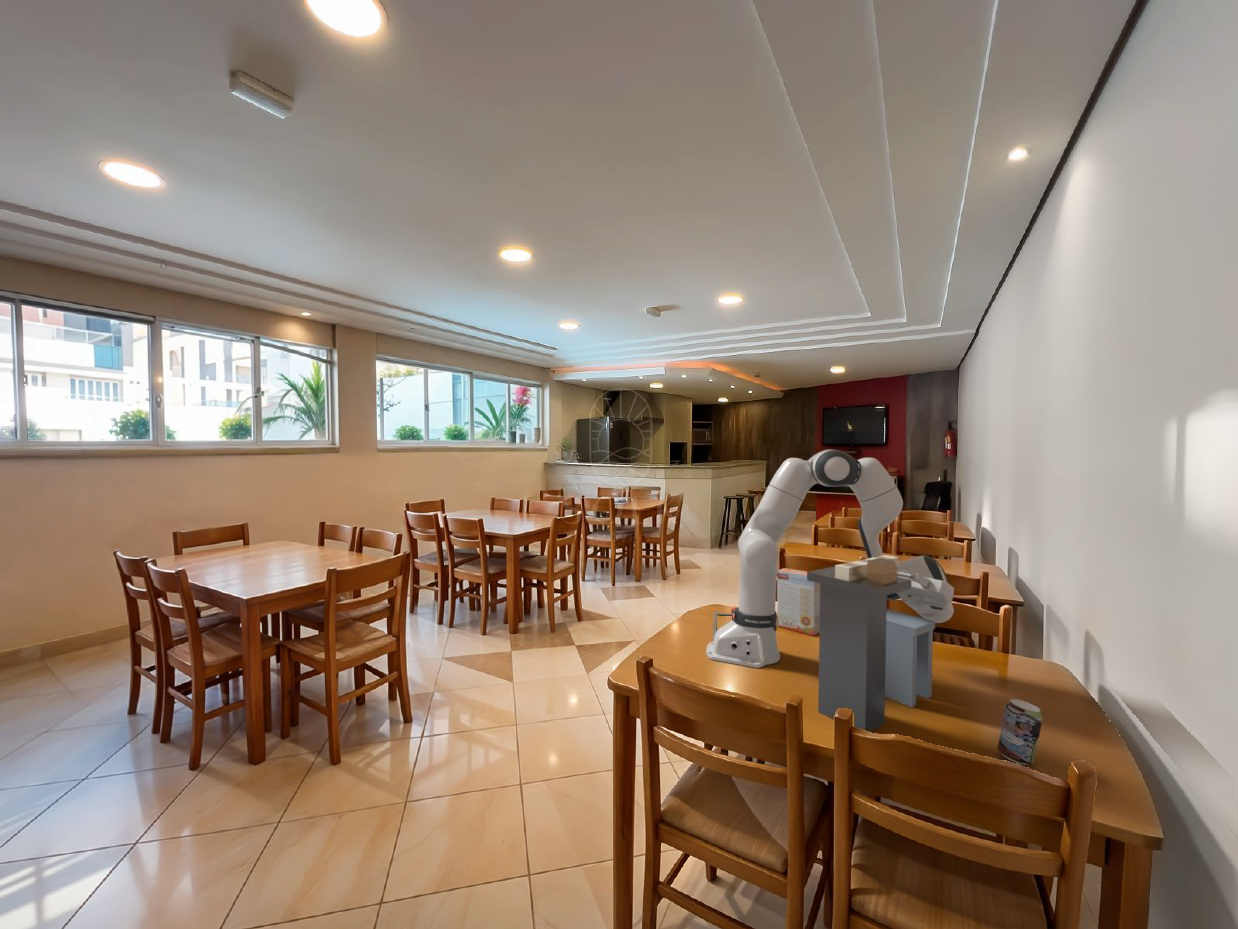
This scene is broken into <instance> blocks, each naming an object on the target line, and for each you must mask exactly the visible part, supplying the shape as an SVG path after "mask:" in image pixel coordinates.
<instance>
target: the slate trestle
mask: <svg viewBox="0 0 1238 929" xmlns="http://www.w3.org/2000/svg"><path fill="white" fill-rule="evenodd" d="M935 629H936V623H935V621H933V620H929V619H925V618H923V617H922V616H921V617H920V616H917V615H913V614H910V613H905V612H903V611H902V612H901V611H898V610H893V609H890V608H888V609H887V612H886V665H885V698H887V699H890V700H892V701H895V702H898V703H900V704H902V705H905V706H906V707H910V708H913V707H915V706H917V696H920V697H922V698H925V699H930V698H932V687H933V685H932V684H933V683H932V681H933V680H932V679H933V646H934V645H933V640H934V639H933V637H934V634H933V633H934V630H935Z"/></svg>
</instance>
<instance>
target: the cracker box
mask: <svg viewBox="0 0 1238 929" xmlns="http://www.w3.org/2000/svg"><path fill="white" fill-rule="evenodd" d="M807 572H808V571H806V570H799V569H793V568H787V567H783V568H781V569H778V572H777V583H776V590H777V592H776V593H777V596H776V598H777V599H776V600H777V601H776V602H777V603H776V606H777V608H776V613H777V628H782V629H785V630H790V631H793V632H797V633H800V634H805V635H808V636H812V637H814V636H816V635H818V634H819V632H820V583H816V582H812V581H808V580H807Z"/></svg>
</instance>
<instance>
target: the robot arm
mask: <svg viewBox="0 0 1238 929" xmlns="http://www.w3.org/2000/svg"><path fill="white" fill-rule="evenodd" d="M817 484H819V485H821V486H824V487H830V488H831V487H832V488H838V487H839V488H840V487H845V486H848V487H849V488H850V489H851V491H852V492H853V493H854V495H855V497H856V499H857V501H858V503H859V505H860V509H861V517H859V519H858V521H857V522H858V523H857V525H858V526H857V527H858V530H859V535H860V538H861V541H862V545H863V548H864V551H865V554H866V559H868V558H873V557H878V556H883V555H884V553H883V550H882V547H881V545H880V544H881V543H880V541H879V535H880V534H881V532H882V531H883V530H884V529H885V528H887V527H888V526H889V525H890V524H891V523H893V522H894V521H895V520H896V519H897V518H898V517H899V515H900V514H901V512H902V509H903V506H904V500H903V498H902V494H901V492H900V490H899V489H898V488H899V487H897V484H896V483H895V481H894V479H893V478H892V476H891V474H890V473H889V472H888V471H887V470H886V468H885V467H884V466H883V464H882V462H880V461H879V460H878V459H877V458H874V457H862V458H859V459H856V458H854V457H853V456H851V455H849V453H846V452H845V451H841V450H838V449H831V448H829V449H824V450H821V451H818V452H817V453H815V454H813V455H812V456H810V457H809V458H808V459H806V460H805V459H802V458H798V457H790V458H789V457H788V458H786V460H784V461H783V462H782V464H781V465H780V467H778V469H777V470H776V472H775V473H774V475H773V477H772V479H771V480H770V481H769V484H768V485H767V488H766V489H765V492H764V494H763V496H762V497H761V500H760V502H759V504H758V506H757V508H756V509H755V511H754V512H753V514H752V515H751V517H750V518H749V521H748V522H747V524H746V526H745V527H744V529H743V530H742V532H741V535H740V536H739V538H738V542H737V547H738V552H739V556H740V561H739V562H740V565H739V566H740V567H739V582H738V607H737V606H734V605H733V606H732V607H730V613H731V614H732V620H731V621H730V622H728V623H726V624H725V625H723V626H722V627H720V628H719V629H718V630H717V631H716V633H715V636H714V641H713V640H712V641H710V642H709V643H708V644H707V645H706V651H705V653H706V657H707V658H708V659H710V660H712V661H718V662H723V663H728V664H734V665H739V666H746V667H751V668H756V669H759V668H762V667H764V666H768V665H772V664H776V663H778V662H779V661H780V660H781V655H780V650H779V647H778V640H777V639H778V638H777V629H778V626H777V610H776V604H777V603H776V602H777V601H776V600H777V599H776V598H777V596H776V593H777V592H776V590H777V582H778V570H779V559H780V558H779V557H780V555H779V554H780V552H779V551H780V550H779V546H778V543H779V541H780V540H781V538H782V536H783V535H784V534H785V532H786V531H787V530H788V528H789V527H790V526H791V525H792V523H793V521H794V519H795V517H796V515H797V514H798V512H799V509H800V508H801V506H802V504H803V502H804V500H805V498H806V495H807V494H808V492H809V491H810V489H811V488H812V487H813V486H814V485H817ZM895 571H897V577H900V578H905V579H910V580H911V589H907V590H904V591H900V592H897V593H893V594H890V595H887V600H890V601H893V602H894V601H897V600H901V601H902V602H903V603H904V604H906V605H907V606H908V607H910V608H911V609H912V610H913V611H915V613H917V615H919V616H921V618H925V619H929V620H933V621H935V624H936V623H937V624H941V623H942V624H943V623H944V622H948V621H949V620H951V618H952V617H953V615H954V612H955V609H954V605H953V603H952V602H953V599H954V593H955V587H953V586H952V585H951V584H950V583H949V580H948V577H947V574H946V572H945V570H944V568H943V567H942V565H941V564H940V563H939V561H937V560H936V559H934V558H933V557H932V556H930V555H926V554H924V555H919V556H915V557H913V558H908V559H907V560H903V561H899V569H897V570H895Z"/></svg>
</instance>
